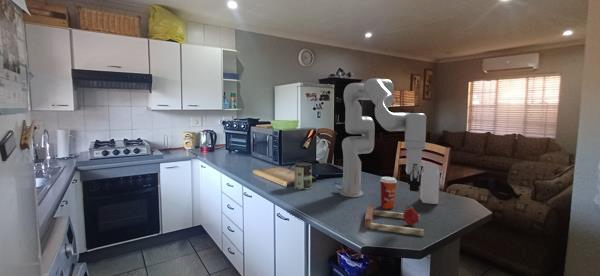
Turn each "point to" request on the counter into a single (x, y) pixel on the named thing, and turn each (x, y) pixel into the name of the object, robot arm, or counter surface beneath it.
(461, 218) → the counter surface
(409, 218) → the red apple
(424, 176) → the milk carton
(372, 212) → the wooden u-shaped frame
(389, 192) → the paper cup
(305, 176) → the coffee can
